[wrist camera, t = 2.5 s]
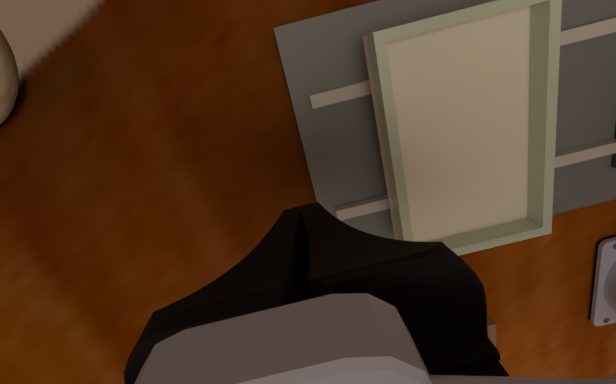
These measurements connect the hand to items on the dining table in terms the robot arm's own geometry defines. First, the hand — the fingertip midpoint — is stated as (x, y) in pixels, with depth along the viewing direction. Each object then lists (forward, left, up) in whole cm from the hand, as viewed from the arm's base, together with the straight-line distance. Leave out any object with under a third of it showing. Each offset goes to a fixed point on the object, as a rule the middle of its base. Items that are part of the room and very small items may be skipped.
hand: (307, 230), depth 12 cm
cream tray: (-9, 0, -7) cm, 11 cm away
